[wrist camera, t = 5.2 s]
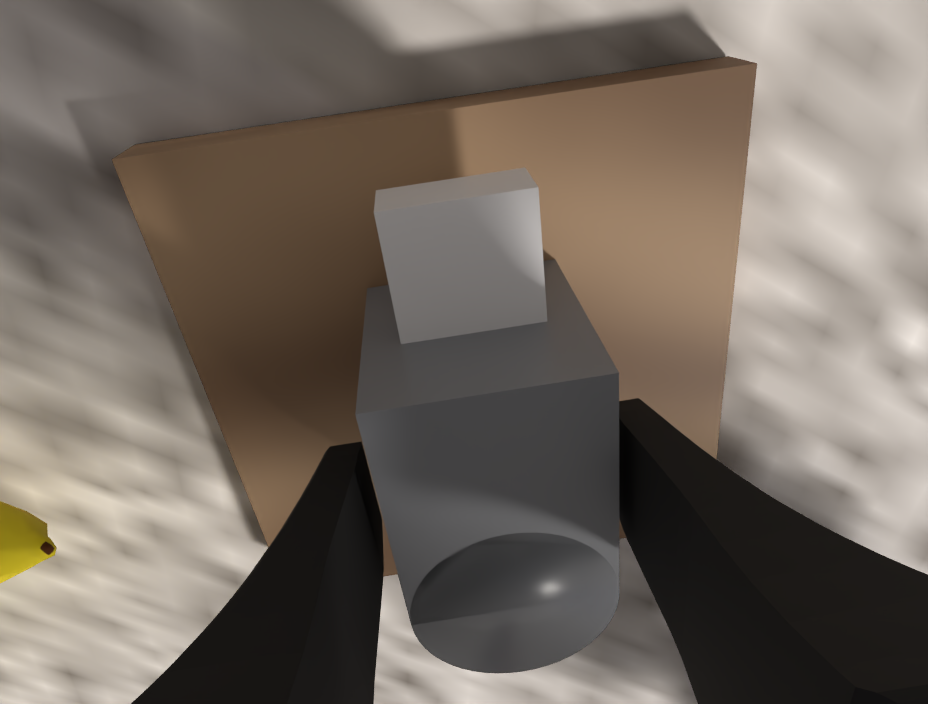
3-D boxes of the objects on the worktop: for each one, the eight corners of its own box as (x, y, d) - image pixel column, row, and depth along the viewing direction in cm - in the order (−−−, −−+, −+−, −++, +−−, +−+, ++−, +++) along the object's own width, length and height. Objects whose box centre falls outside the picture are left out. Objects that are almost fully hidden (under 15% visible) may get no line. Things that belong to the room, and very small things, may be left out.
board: (692, 494, 19) (709, 524, 18) (292, 558, 19) (286, 591, 18) (728, 56, 13) (757, 63, 12) (134, 145, 13) (111, 159, 12)
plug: (568, 501, 17) (619, 655, 13) (420, 525, 17) (427, 686, 13) (548, 143, 12) (619, 219, 8) (341, 174, 12) (315, 266, 8)
